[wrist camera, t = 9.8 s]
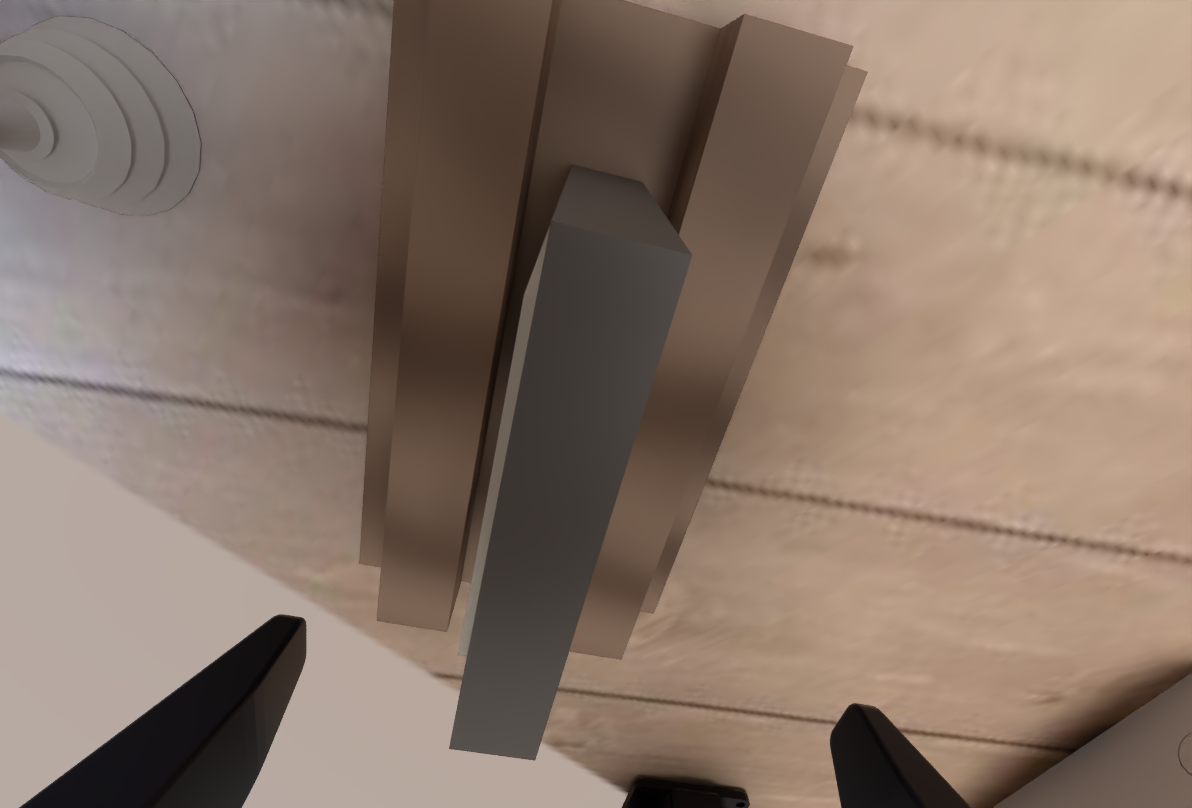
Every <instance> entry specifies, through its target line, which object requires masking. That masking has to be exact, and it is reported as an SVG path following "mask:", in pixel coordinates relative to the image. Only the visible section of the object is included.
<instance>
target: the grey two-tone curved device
mask: <svg viewBox="0 0 1192 808" xmlns="http://www.w3.org/2000/svg"><path fill="white" fill-rule="evenodd" d="M993 808H1192V673H1191V674H1189V675H1188V676H1186V677H1185V678H1183V679H1182V680H1180V681H1179V682H1177V683H1176V684H1174V685H1173V686H1171V687H1170V688H1168V689H1167V690H1165V691H1164V692H1162V693H1161V694H1160V695H1158V696H1157V697H1155V698H1154V699H1152V700H1151V701H1149V702H1148V703H1146V704H1145V705H1143V706H1142V707H1140V708H1139V709H1137V710H1136V711H1134V712H1133V713H1131V714H1130V715H1128V716H1127V717H1126V718H1124V719H1123V720H1121V721H1120V722H1118V723H1117V724H1115V725H1114V726H1112V727H1111V728H1109V729H1108V730H1106V731H1105V732H1103V733H1102V734H1100V735H1099V736H1097V737H1096V738H1095V739H1093V740H1092V741H1090V742H1089V743H1087V744H1086V745H1084V746H1083V747H1081V748H1080V749H1078V750H1077V751H1075V752H1074V753H1072V754H1071V755H1069V756H1068V757H1066V758H1065V759H1063V760H1062V761H1061V762H1059V763H1058V764H1056V765H1055V766H1053V767H1052V768H1050V769H1049V770H1047V771H1046V772H1044V773H1043V774H1041V775H1040V776H1038V777H1037V778H1035V779H1034V780H1032V781H1031V782H1030V783H1028V784H1027V785H1025V786H1024V787H1022V788H1021V789H1019V790H1018V791H1016V792H1015V793H1013V794H1012V795H1010V796H1009V797H1007V798H1006V799H1004V800H1003V801H1001V802H1000V803H999V804H997V805H996V806H994V807H993Z"/></svg>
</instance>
